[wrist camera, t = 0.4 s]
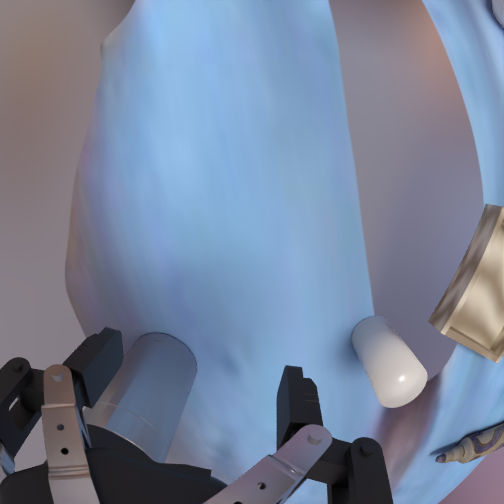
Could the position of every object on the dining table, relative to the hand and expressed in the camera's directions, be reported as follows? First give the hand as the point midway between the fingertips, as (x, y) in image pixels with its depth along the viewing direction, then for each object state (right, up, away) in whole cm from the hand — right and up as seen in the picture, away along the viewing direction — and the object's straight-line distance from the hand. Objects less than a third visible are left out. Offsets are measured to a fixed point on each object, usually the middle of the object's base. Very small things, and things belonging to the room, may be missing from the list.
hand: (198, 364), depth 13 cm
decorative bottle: (+54, -36, +26) cm, 70 cm away
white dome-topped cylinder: (+17, -5, +20) cm, 27 cm away
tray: (+38, 0, +18) cm, 42 cm away
